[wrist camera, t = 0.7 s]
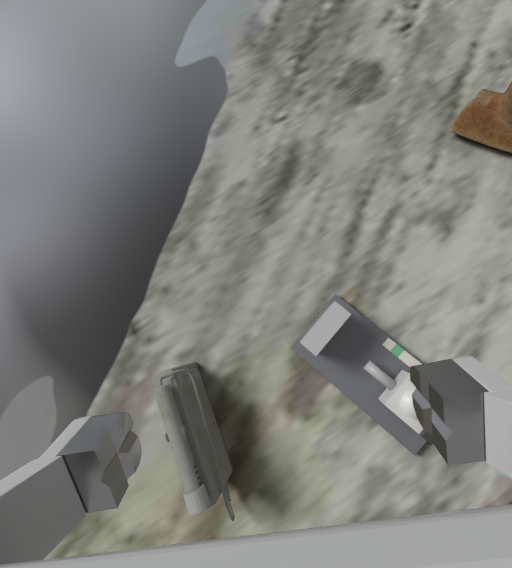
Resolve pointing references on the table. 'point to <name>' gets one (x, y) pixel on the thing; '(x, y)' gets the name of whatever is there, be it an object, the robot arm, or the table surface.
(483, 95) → the brown hollow flared piece
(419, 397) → the robot arm
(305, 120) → the table surface
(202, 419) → the geiger counter
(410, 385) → the white domed block
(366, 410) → the stand
